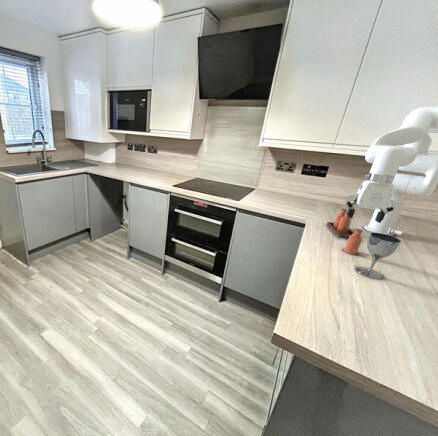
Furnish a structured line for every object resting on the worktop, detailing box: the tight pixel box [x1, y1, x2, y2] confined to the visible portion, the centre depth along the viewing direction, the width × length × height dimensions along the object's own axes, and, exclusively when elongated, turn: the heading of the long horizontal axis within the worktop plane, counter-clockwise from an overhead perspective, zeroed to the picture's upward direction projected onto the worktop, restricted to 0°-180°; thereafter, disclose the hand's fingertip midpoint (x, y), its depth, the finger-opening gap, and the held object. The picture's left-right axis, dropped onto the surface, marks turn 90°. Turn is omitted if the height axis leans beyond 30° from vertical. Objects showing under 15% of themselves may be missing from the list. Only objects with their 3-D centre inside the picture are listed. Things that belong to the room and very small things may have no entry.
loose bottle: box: [343, 228, 364, 255], centre depth 102 cm, size 4×4×11 cm
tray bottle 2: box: [337, 211, 353, 234], centre depth 122 cm, size 4×4×11 cm
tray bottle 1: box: [333, 207, 348, 229], centre depth 127 cm, size 4×4×11 cm
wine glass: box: [356, 232, 402, 280], centre depth 86 cm, size 8×8×15 cm
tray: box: [326, 221, 355, 240], centre depth 124 cm, size 19×8×2 cm, turn 159°
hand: (363, 219), depth 98 cm, fingers open, 9 cm apart
